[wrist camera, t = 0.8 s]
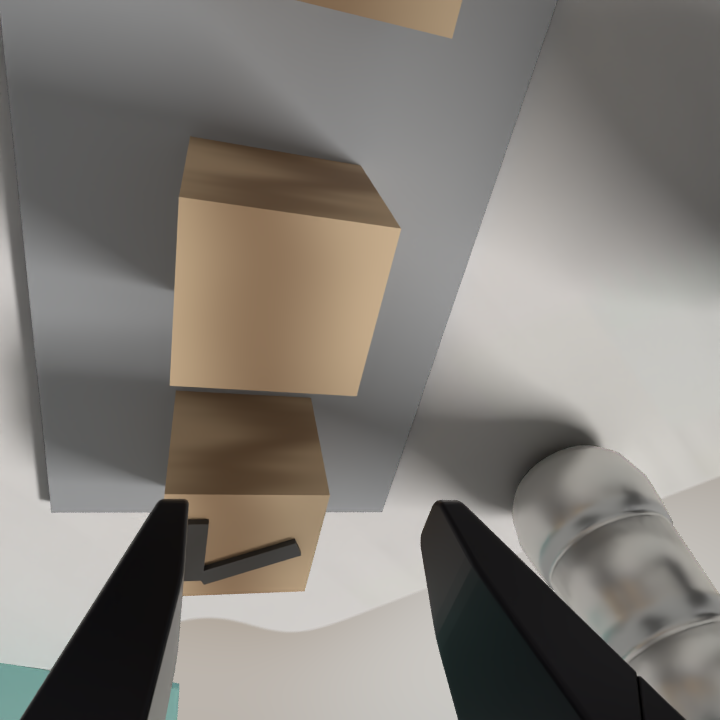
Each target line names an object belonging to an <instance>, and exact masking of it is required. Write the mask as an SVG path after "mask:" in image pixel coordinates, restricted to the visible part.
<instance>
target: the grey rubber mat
mask: <svg viewBox="0 0 720 720" xmlns="http://www.w3.org/2000/svg"><path fill="white" fill-rule="evenodd" d="M557 1H558V0H462V4H461V7H460V11H459V15H458V18H457V22H456V26H455V30H454V33H453V37H452V39H451V38H447V37H443V36H439V35H435V34H431V33H427V32H423V31H419V30H415V29H411V28H406V27H402V26H398V25H394V24H390V23H386V22H382V21H378V20H374V19H370V18H366V17H362V16H358V15H354V14H350V13H345V12H341V11H337V10H333V9H329V8H325V7H321V6H317V5H313V4H309V3H305V2H301V1H297V0H0V18H1V28H2V37H3V47H4V57H5V67H6V76H7V86H8V96H9V105H10V115H11V125H12V135H13V144H14V154H15V164H16V174H17V183H18V193H19V203H20V212H21V222H22V232H23V242H24V251H25V261H26V271H27V281H28V290H29V300H30V310H31V319H32V329H33V339H34V349H35V358H36V368H37V378H38V388H39V397H40V407H41V417H42V426H43V436H44V446H45V456H46V465H47V475H48V485H49V495H50V504H51V513H55V512H151V511H152V510H153V508H154V506H155V505H156V503H157V502H158V501H159V500H161V499H164V494H165V484H166V475H167V466H168V457H169V448H170V439H171V430H172V421H173V412H174V403H175V394H176V391H194V392H212V393H231V394H249V395H268V396H286V397H305V398H311V400H312V405H313V410H314V416H315V421H316V426H317V431H318V436H319V441H320V446H321V452H322V457H323V462H324V467H325V472H326V477H327V482H328V488H329V493H330V497H329V501H328V505H327V509H326V512H382V511H383V508H384V505H385V502H386V499H387V496H388V493H389V490H390V487H391V484H392V481H393V479H394V476H395V473H396V470H397V467H398V464H399V461H400V458H401V455H402V452H403V449H404V447H405V444H406V441H407V438H408V435H409V432H410V429H411V426H412V423H413V420H414V417H415V414H416V412H417V409H418V406H419V403H420V400H421V397H422V394H423V391H424V388H425V385H426V382H427V380H428V377H429V374H430V371H431V368H432V365H433V362H434V359H435V356H436V353H437V350H438V348H439V345H440V342H441V339H442V336H443V333H444V330H445V327H446V324H447V321H448V318H449V315H450V313H451V310H452V307H453V304H454V301H455V298H456V295H457V292H458V289H459V286H460V283H461V281H462V278H463V275H464V272H465V269H466V266H467V263H468V260H469V257H470V254H471V251H472V249H473V246H474V243H475V240H476V237H477V234H478V231H479V228H480V225H481V222H482V219H483V216H484V214H485V211H486V208H487V205H488V202H489V199H490V196H491V193H492V190H493V187H494V184H495V182H496V179H497V176H498V173H499V170H500V167H501V164H502V161H503V158H504V155H505V152H506V149H507V147H508V144H509V141H510V138H511V135H512V132H513V129H514V126H515V123H516V120H517V117H518V115H519V112H520V109H521V106H522V103H523V100H524V97H525V94H526V91H527V88H528V85H529V83H530V80H531V77H532V74H533V71H534V68H535V65H536V62H537V59H538V56H539V53H540V50H541V48H542V45H543V42H544V39H545V36H546V33H547V30H548V27H549V24H550V21H551V18H552V16H553V13H554V10H555V7H556V4H557ZM190 136H192V137H197V138H203V139H209V140H215V141H221V142H227V143H232V144H238V145H244V146H250V147H256V148H262V149H267V150H273V151H279V152H285V153H291V154H297V155H302V156H308V157H314V158H320V159H326V160H332V161H337V162H343V163H349V164H355V165H361V166H362V168H363V170H364V171H365V173H366V174H367V176H368V177H369V179H370V181H371V182H372V184H373V185H374V187H375V188H376V190H377V191H378V193H379V195H380V196H381V198H382V199H383V201H384V202H385V204H386V206H387V207H388V209H389V210H390V212H391V213H392V215H393V216H394V218H395V220H396V221H397V223H398V224H399V226H400V227H401V232H400V235H399V239H398V243H397V247H396V250H395V254H394V258H393V262H392V265H391V269H390V273H389V277H388V280H387V284H386V288H385V292H384V295H383V299H382V303H381V307H380V310H379V314H378V318H377V322H376V325H375V329H374V333H373V337H372V340H371V344H370V348H369V351H368V355H367V359H366V363H365V366H364V370H363V374H362V378H361V381H360V385H359V389H358V393H357V396H343V395H325V394H308V393H290V392H272V391H254V390H237V389H219V388H201V387H183V386H170V369H171V349H172V328H173V308H174V287H175V266H176V246H177V225H178V205H179V194H180V188H181V183H182V177H183V172H184V167H185V161H186V156H187V150H188V145H189V140H190Z"/></svg>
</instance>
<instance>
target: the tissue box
mask: <svg viewBox="0 0 720 720" xmlns="http://www.w3.org/2000/svg"><path fill="white" fill-rule="evenodd" d="M49 672H50V671H49V670H43V669H36V668H30V667H24V666H17V665H10V664H3V663H0V720H20V718H21V717H22V715H23V713H24V712H25V710H26V709H27V707H28V705H29V704H30V702H31V701H32V699H33V698H34V696H35V694H36V693H37V691H38V690H39V688H40V686H41V685H42V683H43V682H44V680H45V679H46V677H47V675H48V674H49ZM178 698H179V683H174V682H172V687H171V693H170V698H169V703H168V708H167V714H166V719H165V720H177V712H178Z"/></svg>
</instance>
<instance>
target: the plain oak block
mask: <svg viewBox="0 0 720 720" xmlns="http://www.w3.org/2000/svg"><path fill="white" fill-rule="evenodd" d="M400 232H401V227H400V226H399V224H398V223H397V221H396V220H395V218H394V216H393V215H392V213H391V212H390V210H389V209H388V207H387V206H386V204H385V202H384V201H383V199H382V198H381V196H380V195H379V193H378V191H377V190H376V188H375V187H374V185H373V184H372V182H371V181H370V179H369V177H368V176H367V174H366V173H365V171H364V170H363V168H362V166H361V165H355V164H349V163H343V162H337V161H332V160H326V159H320V158H314V157H308V156H302V155H297V154H291V153H285V152H279V151H273V150H267V149H262V148H256V147H250V146H244V145H238V144H232V143H227V142H221V141H215V140H209V139H203V138H197V137H192V136H190V140H189V145H188V150H187V156H186V161H185V167H184V172H183V177H182V183H181V188H180V194H179V205H178V225H177V246H176V266H175V287H174V308H173V328H172V349H171V369H170V386H183V387H201V388H219V389H237V390H254V391H272V392H290V393H308V394H325V395H343V396H357V393H358V389H359V385H360V381H361V378H362V374H363V370H364V366H365V363H366V359H367V355H368V351H369V348H370V344H371V340H372V337H373V333H374V329H375V325H376V322H377V318H378V314H379V310H380V307H381V303H382V299H383V295H384V292H385V288H386V284H387V280H388V277H389V273H390V269H391V265H392V262H393V258H394V254H395V250H396V247H397V243H398V239H399V235H400Z"/></svg>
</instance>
